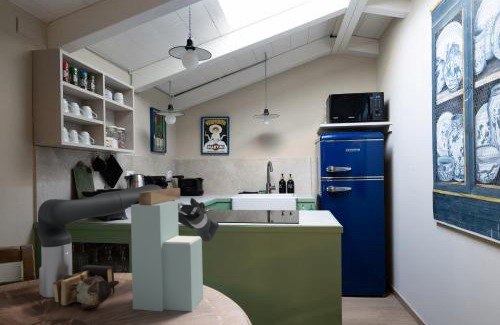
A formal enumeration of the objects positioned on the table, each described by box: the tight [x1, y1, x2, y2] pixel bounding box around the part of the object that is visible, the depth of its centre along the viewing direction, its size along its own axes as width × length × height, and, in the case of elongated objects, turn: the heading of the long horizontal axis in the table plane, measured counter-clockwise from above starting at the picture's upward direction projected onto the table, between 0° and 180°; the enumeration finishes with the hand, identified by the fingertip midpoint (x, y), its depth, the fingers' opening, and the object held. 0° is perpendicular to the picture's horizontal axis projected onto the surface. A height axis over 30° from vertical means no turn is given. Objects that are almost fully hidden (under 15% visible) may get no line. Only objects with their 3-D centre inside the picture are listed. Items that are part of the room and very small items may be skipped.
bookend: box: [52, 264, 120, 310], centre depth 102 cm, size 15×11×25 cm
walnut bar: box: [138, 187, 181, 205], centre depth 106 cm, size 4×20×4 cm, turn 167°
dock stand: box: [130, 200, 204, 312], centre depth 100 cm, size 19×12×32 cm, turn 77°
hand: (180, 200), depth 118 cm, fingers open, 8 cm apart
